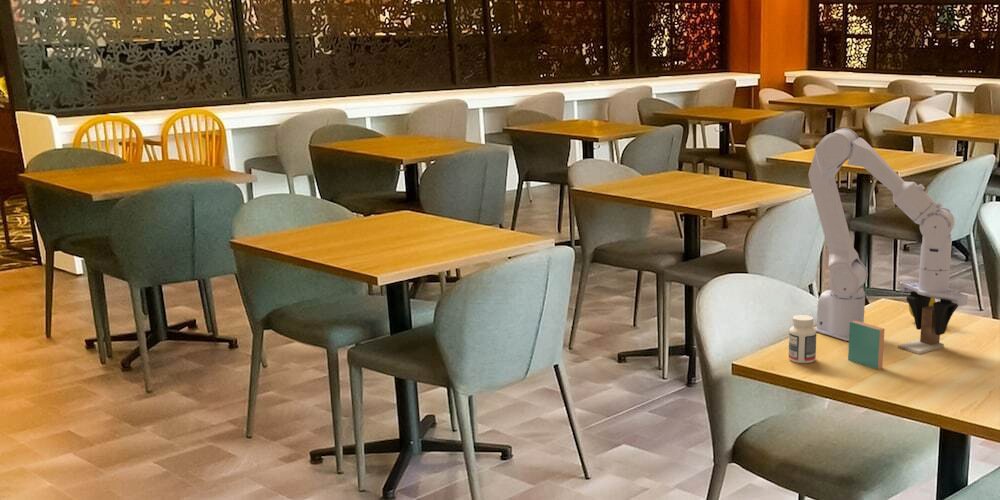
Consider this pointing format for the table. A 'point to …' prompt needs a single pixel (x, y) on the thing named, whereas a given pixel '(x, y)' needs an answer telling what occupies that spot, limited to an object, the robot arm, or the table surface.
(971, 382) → the table surface
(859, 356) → the tile
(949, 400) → the table surface
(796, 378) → the table surface
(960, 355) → the table surface
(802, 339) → the pill bottle
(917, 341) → the brown grey l-shaped block
